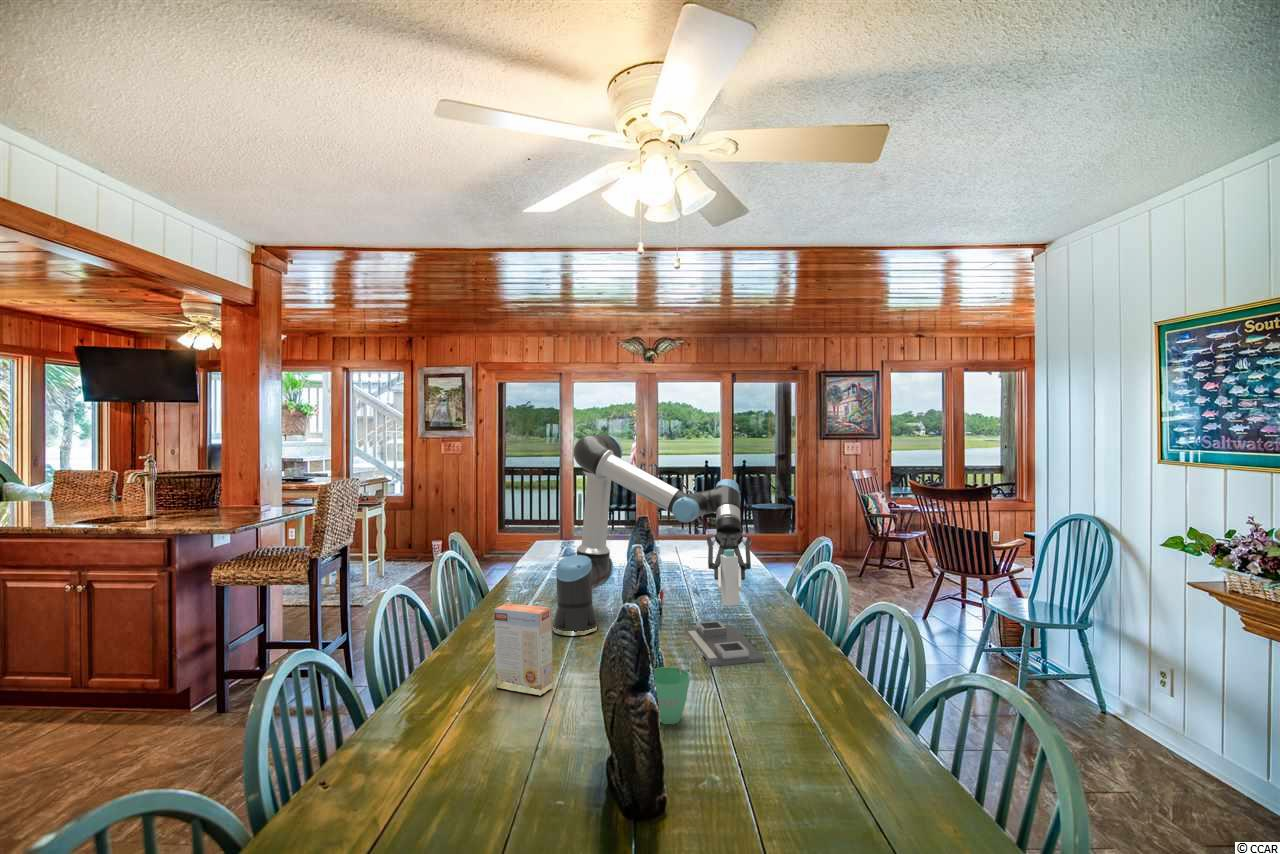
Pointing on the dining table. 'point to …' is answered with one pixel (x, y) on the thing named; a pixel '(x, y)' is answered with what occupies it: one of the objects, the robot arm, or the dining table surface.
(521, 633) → the cracker box
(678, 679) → the green cup
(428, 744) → the dining table surface
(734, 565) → the plug
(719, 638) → the panel
